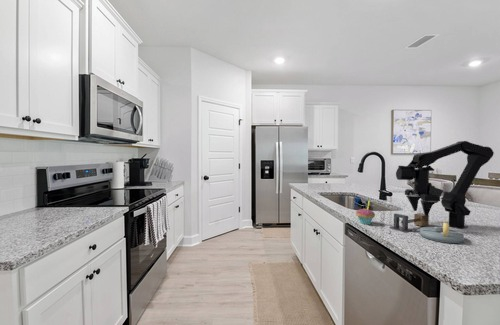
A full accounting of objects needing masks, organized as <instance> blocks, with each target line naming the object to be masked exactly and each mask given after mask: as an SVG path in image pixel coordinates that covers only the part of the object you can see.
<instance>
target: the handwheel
mask: <svg viewBox="0 0 500 325" xmlns="http://www.w3.org/2000/svg"><path fill="white" fill-rule="evenodd" d="M419 235H420V236H421V237H423V238H426V239H428V240H431V241H436V242H440V243H441V242H442V243H449V244H460V243H464V240H465V234H464V233H461V232H460V231H456V230H453V229H450V226H449V222H443V223H442V227H438V226H421V228H419Z"/></svg>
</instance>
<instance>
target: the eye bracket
mask: <svg viewBox="0 0 500 325" xmlns="http://www.w3.org/2000/svg"><path fill="white" fill-rule="evenodd" d="M400 218H401V219H402V220H401V221H402V223H401V225H402V226H400ZM408 220H409V215H406V214H401V213H393V225H392V226H389V229H392V230H395V231H398V232H402V233H409V232H413V229H411V228H409V223H408Z"/></svg>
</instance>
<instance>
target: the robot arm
mask: <svg viewBox="0 0 500 325" xmlns="http://www.w3.org/2000/svg"><path fill="white" fill-rule="evenodd" d="M459 152H462V153H464V154H466V155H467V157H466V160H467V161H466V162H467V164H466V165H465V166H464V168H463V170H462V172H461V174H460V175H459V176H460V177H459V178H458V180H457V181H456V183H455V185H454V186H453V188H452V190H451V191H445V192H444V190H443V189H441V188H438V187H436V186H435V185H433V184H432V183H431V182H430V172H431V171H432V172H435V168H433V167H432V166H431V165H432V164H434V163H436V162H437V160H440V159H442V158H445V157H447V156H451V155H454V154H457V153H459ZM494 154H495V152H494V151H493V149H492V148H491V147H489V146H483V145H480V144H477V143H476V144H475V143H472V142H470V141H468V140H461V141H457V142H456V143H452V144H449V145H446V146H444V147H441V148H438V149H434V150H433V151H427V152H420V153H417V154H414V155H413V156H412V159H411V161H410V162H409V163H408V164H407V165H398V166H397V169H396V171H395V177H396V179H397V180H398V181H411V182H412V183H411V184H412V185H413V189H411V188H407V189H405V191H404V195H405V196H406V198H407V200H408V202H409V203H410V205H411V208H412V210H413V211H414V212H417V211H418V206H419V200H420V199H421V200H420V204H421V207H422V211H423V214H425V215H429V214H430V211H431V209H432V207H433V206H434V204H438V203H439V202H440V203H441V205H442V207H443V209H444V211H445V212H447V213H448V223H449V227H452V228H456V229H460V230H461V229H467V228H469V226H468V225H466V224H465V223H466V222H465V219H466V217H467V216H469V215H470V214H471V212H472V211H471V210H470V209H469V208H467V207H466V205H465V204H466V201H467V198H466V195H467V192H468V191H469V189H470V188H471V185H472V183H473V181H474V180H475V178H476V176H477V174H478V172H479V171H480V169H481V167H483V166H484V165H486V164H487V163H489V161H490V160H491V159H492V158H493V157H494ZM413 179H414V180H413ZM412 180H413V181H412ZM443 192H444V194H443ZM442 194H443V196H442ZM441 196H442V197H441ZM465 216H466V217H465Z"/></svg>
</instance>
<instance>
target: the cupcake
mask: <svg viewBox="0 0 500 325" xmlns="http://www.w3.org/2000/svg"><path fill="white" fill-rule="evenodd" d="M370 204H371V199H369V200H368V202H367V208H359V209H357V210H356V211H355V216H356V217H357V218H358V220H359V223H360V224H362V225H366V226H367V225H371V223H372V221H373V219H374V218H375V217H376V213H375V212H374V211H373V210H371V209H369V208H370Z"/></svg>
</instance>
